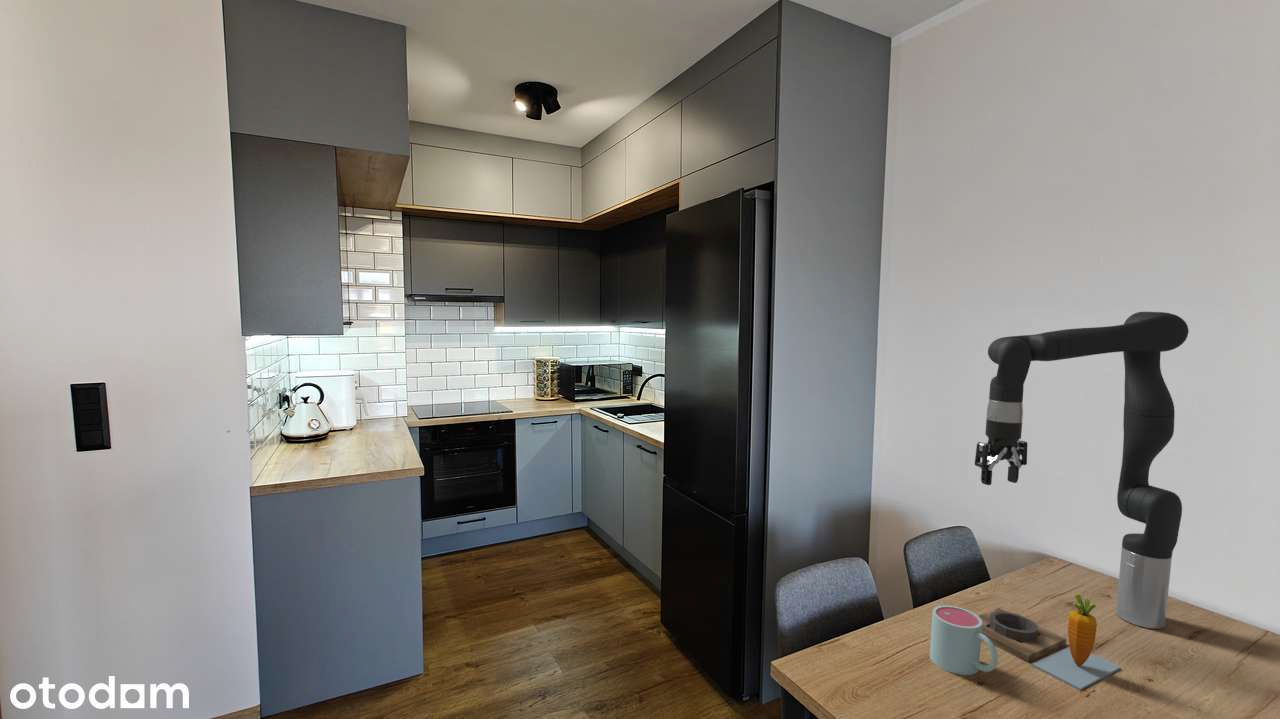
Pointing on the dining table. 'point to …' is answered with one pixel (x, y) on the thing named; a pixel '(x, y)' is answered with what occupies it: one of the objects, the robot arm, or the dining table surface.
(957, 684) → the dining table surface
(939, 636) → the mug
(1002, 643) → the ring stand
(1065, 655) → the slate mat
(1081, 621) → the carrot
